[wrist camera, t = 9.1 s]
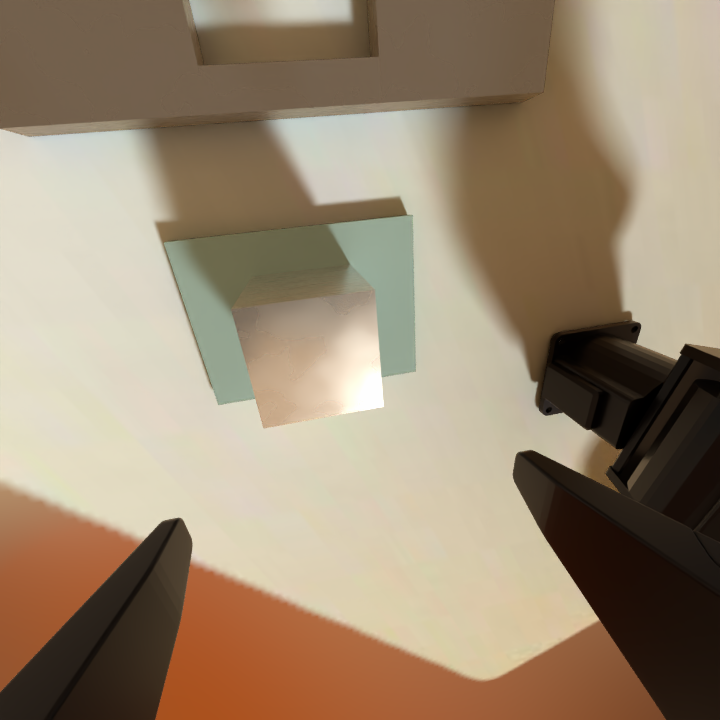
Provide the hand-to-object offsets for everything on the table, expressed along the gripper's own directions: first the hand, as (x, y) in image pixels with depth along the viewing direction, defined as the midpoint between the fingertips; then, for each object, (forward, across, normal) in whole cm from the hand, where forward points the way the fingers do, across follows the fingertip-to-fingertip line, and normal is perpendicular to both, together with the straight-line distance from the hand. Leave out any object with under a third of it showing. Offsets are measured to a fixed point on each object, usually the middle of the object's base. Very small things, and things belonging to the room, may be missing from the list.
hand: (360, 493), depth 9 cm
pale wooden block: (+11, +1, -2) cm, 11 cm away
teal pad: (+12, +1, -2) cm, 12 cm away
